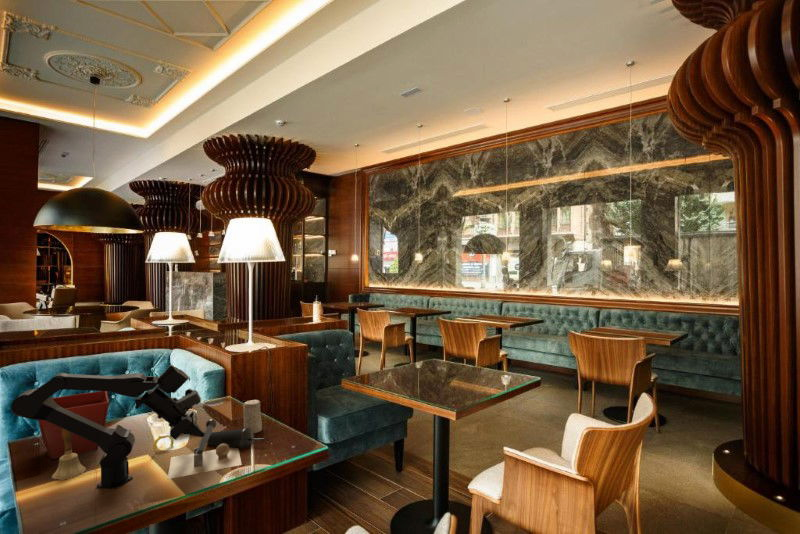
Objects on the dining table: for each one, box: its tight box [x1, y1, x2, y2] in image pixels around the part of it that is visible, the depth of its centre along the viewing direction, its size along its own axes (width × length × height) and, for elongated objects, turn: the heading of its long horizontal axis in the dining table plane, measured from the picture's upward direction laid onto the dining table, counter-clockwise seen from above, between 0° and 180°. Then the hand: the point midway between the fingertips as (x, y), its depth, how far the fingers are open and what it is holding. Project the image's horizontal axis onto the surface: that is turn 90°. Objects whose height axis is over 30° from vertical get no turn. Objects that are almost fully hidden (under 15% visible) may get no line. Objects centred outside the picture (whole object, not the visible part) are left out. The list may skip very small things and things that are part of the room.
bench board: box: [167, 446, 242, 480], centre depth 137 cm, size 20×16×5 cm
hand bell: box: [51, 428, 87, 480], centre depth 134 cm, size 8×8×16 cm
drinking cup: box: [206, 428, 265, 450], centre depth 149 cm, size 8×8×20 cm
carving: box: [242, 399, 263, 434], centre depth 162 cm, size 6×8×12 cm
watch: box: [152, 433, 174, 452], centre depth 148 cm, size 6×3×6 cm, turn 139°
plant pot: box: [37, 391, 110, 460], centre depth 152 cm, size 19×19×17 cm
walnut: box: [215, 443, 229, 460], centre depth 139 cm, size 4×4×4 cm
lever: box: [196, 418, 217, 454], centre depth 137 cm, size 3×4×12 cm
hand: (203, 435), depth 137 cm, fingers closed, pressing on lever
